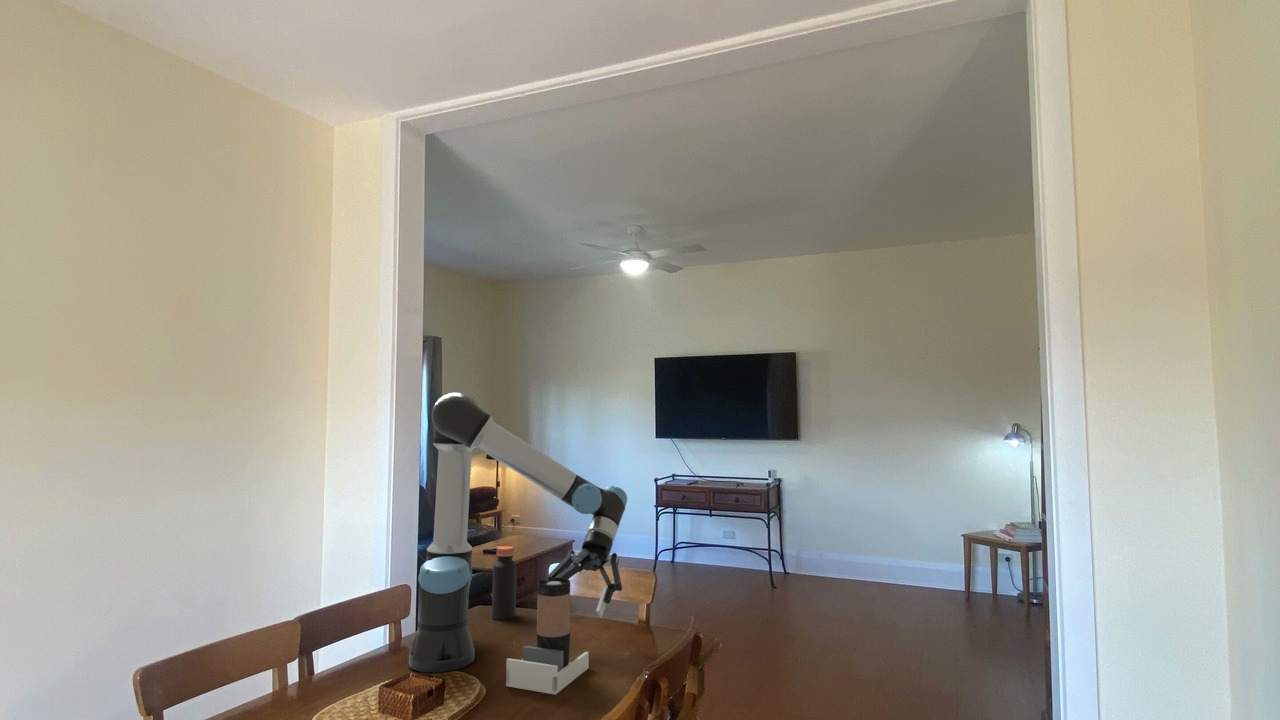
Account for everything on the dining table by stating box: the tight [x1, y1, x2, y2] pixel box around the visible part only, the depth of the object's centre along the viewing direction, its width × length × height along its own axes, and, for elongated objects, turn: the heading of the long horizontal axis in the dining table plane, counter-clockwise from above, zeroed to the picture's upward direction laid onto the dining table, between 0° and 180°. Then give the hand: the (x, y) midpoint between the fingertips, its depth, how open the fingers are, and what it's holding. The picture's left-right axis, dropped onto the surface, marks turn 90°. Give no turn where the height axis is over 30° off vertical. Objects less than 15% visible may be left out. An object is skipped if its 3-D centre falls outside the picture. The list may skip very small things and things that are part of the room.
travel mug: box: [536, 578, 571, 668], centre depth 152 cm, size 8×8×20 cm
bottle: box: [491, 545, 517, 621], centre depth 195 cm, size 7×7×20 cm
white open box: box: [505, 651, 590, 696], centre depth 149 cm, size 12×16×6 cm
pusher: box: [522, 645, 564, 672], centre depth 147 cm, size 10×2×6 cm, turn 69°
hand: (573, 611), depth 161 cm, fingers open, 13 cm apart
